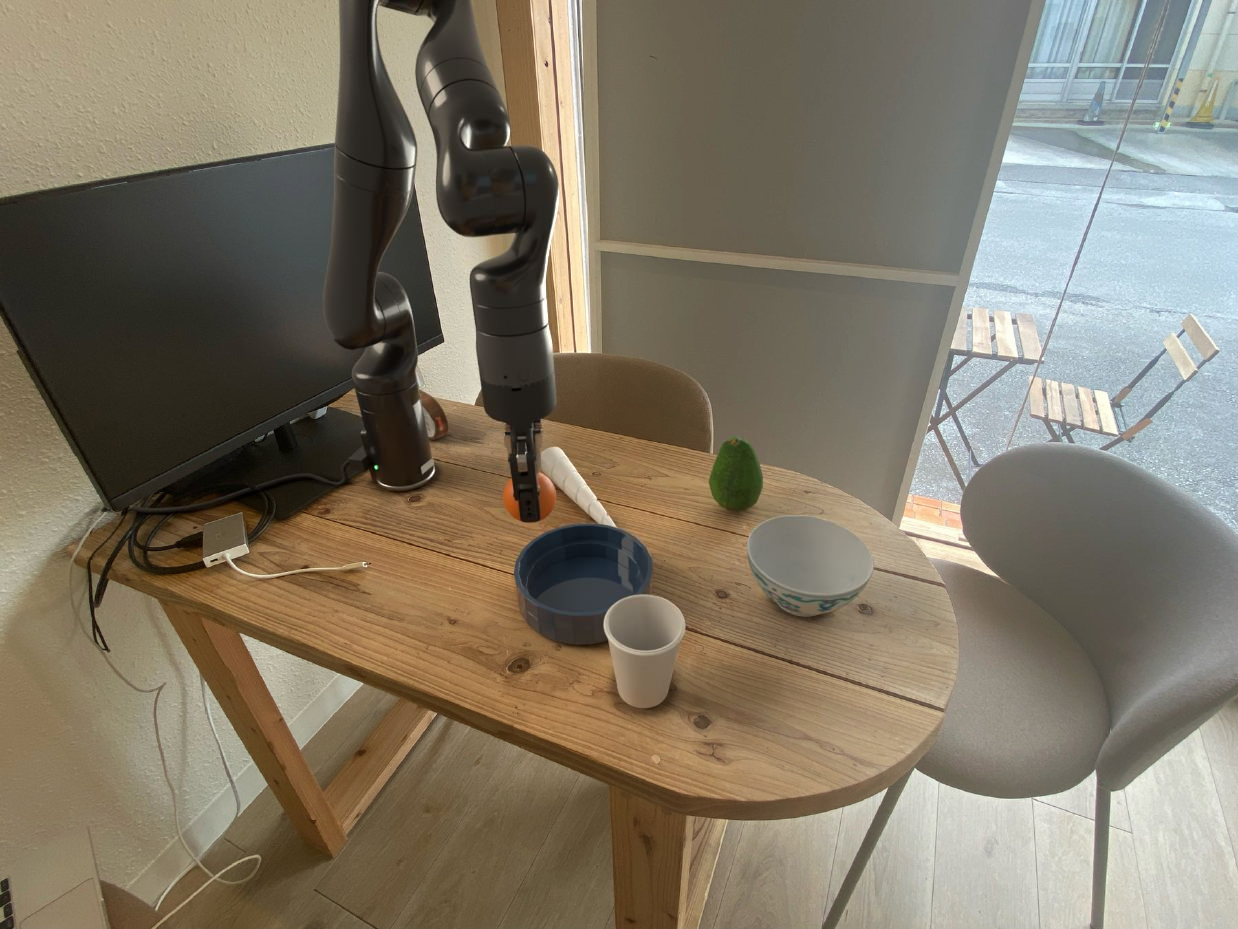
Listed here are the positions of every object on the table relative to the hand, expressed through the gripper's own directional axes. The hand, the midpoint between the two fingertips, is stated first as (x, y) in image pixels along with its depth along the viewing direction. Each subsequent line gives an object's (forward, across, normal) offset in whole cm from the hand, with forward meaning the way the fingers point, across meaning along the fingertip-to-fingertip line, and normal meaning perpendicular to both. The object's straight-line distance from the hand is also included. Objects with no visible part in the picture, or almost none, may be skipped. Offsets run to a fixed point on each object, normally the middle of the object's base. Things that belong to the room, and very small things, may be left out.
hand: (530, 502), depth 73 cm
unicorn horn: (+16, -22, +7) cm, 28 cm away
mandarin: (-1, 0, 0) cm, 1 cm away
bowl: (+16, 0, +6) cm, 17 cm away
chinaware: (+16, +3, +33) cm, 37 cm away
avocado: (+16, -17, +30) cm, 38 cm away
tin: (+16, -48, -22) cm, 55 cm away
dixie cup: (+16, +14, +11) cm, 24 cm away
